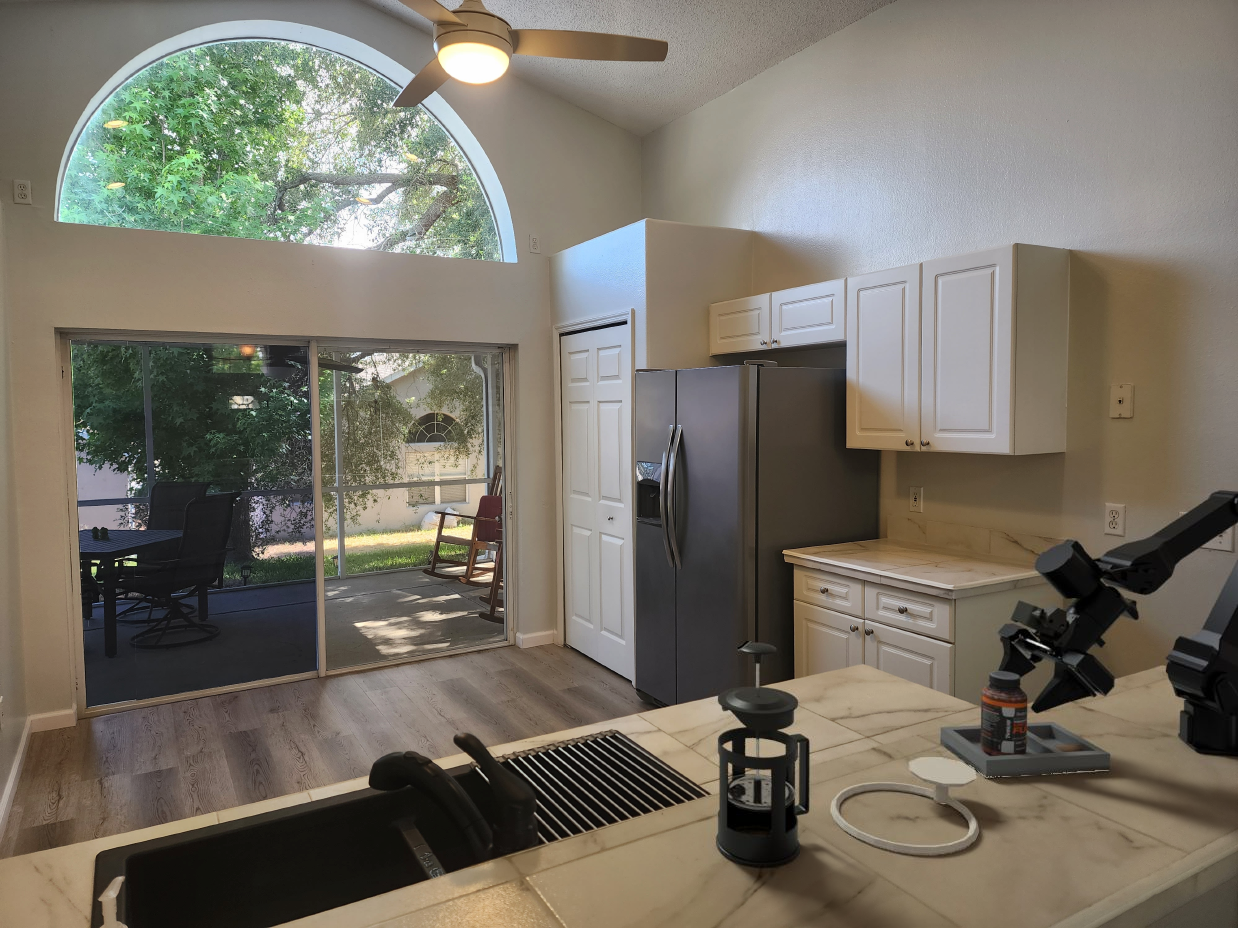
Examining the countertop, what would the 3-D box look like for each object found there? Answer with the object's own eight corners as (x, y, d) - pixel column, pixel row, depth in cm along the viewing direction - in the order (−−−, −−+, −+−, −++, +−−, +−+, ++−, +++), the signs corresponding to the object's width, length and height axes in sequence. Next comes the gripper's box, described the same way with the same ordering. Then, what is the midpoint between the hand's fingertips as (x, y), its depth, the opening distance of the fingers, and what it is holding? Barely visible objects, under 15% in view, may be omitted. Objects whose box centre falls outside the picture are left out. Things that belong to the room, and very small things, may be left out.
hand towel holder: (800, 778, 98) (905, 741, 109) (801, 813, 98) (905, 772, 109) (920, 835, 83) (1025, 785, 95) (920, 875, 84) (1025, 821, 95)
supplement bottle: (1020, 764, 108) (1021, 683, 108) (975, 753, 112) (976, 675, 112) (1031, 751, 113) (1032, 673, 112) (987, 740, 117) (988, 665, 116)
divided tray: (1052, 737, 120) (1052, 721, 120) (1109, 771, 108) (1110, 753, 108) (940, 743, 118) (940, 727, 118) (986, 778, 106) (986, 760, 106)
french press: (736, 876, 83) (736, 661, 82) (696, 834, 92) (696, 639, 91) (829, 854, 87) (830, 650, 86) (783, 816, 96) (783, 630, 95)
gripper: (1009, 570, 122) (941, 644, 121) (1095, 595, 103) (1015, 682, 102) (1056, 619, 123) (990, 692, 122) (1149, 652, 104) (1071, 738, 104)
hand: (1013, 699), depth 113 cm, fingers open, 9 cm apart
